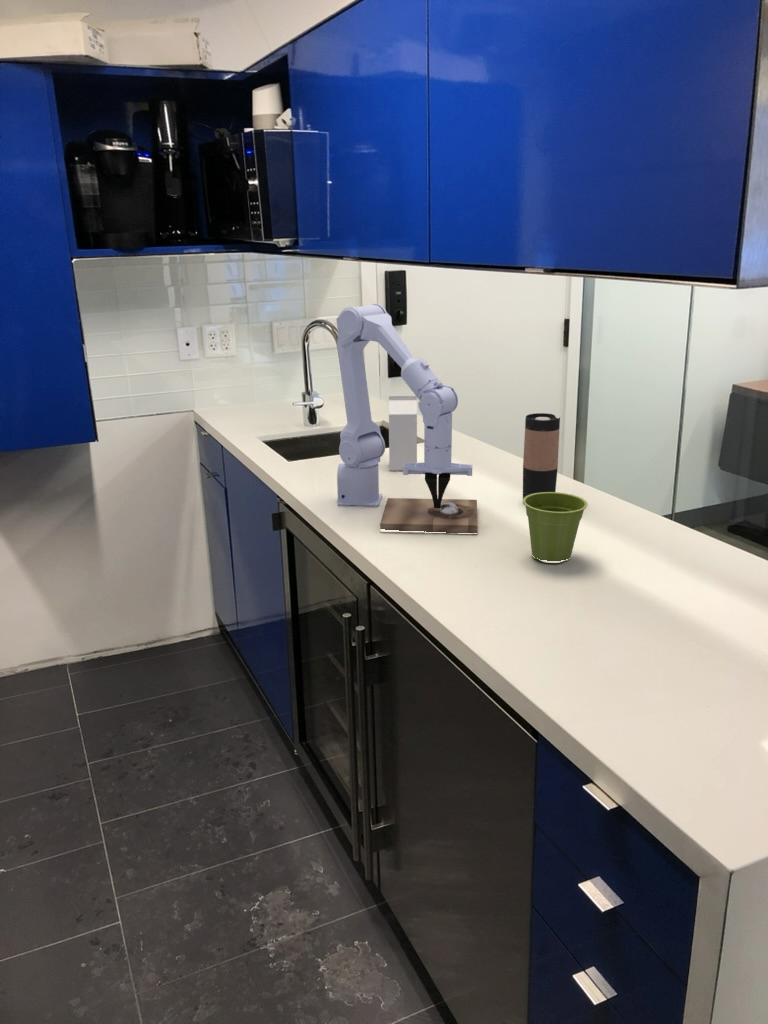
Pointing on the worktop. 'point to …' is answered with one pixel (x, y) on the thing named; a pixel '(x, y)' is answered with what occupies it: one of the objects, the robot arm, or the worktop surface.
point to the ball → (449, 509)
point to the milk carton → (402, 431)
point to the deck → (429, 516)
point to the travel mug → (540, 453)
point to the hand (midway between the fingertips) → (437, 506)
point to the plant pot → (553, 523)
